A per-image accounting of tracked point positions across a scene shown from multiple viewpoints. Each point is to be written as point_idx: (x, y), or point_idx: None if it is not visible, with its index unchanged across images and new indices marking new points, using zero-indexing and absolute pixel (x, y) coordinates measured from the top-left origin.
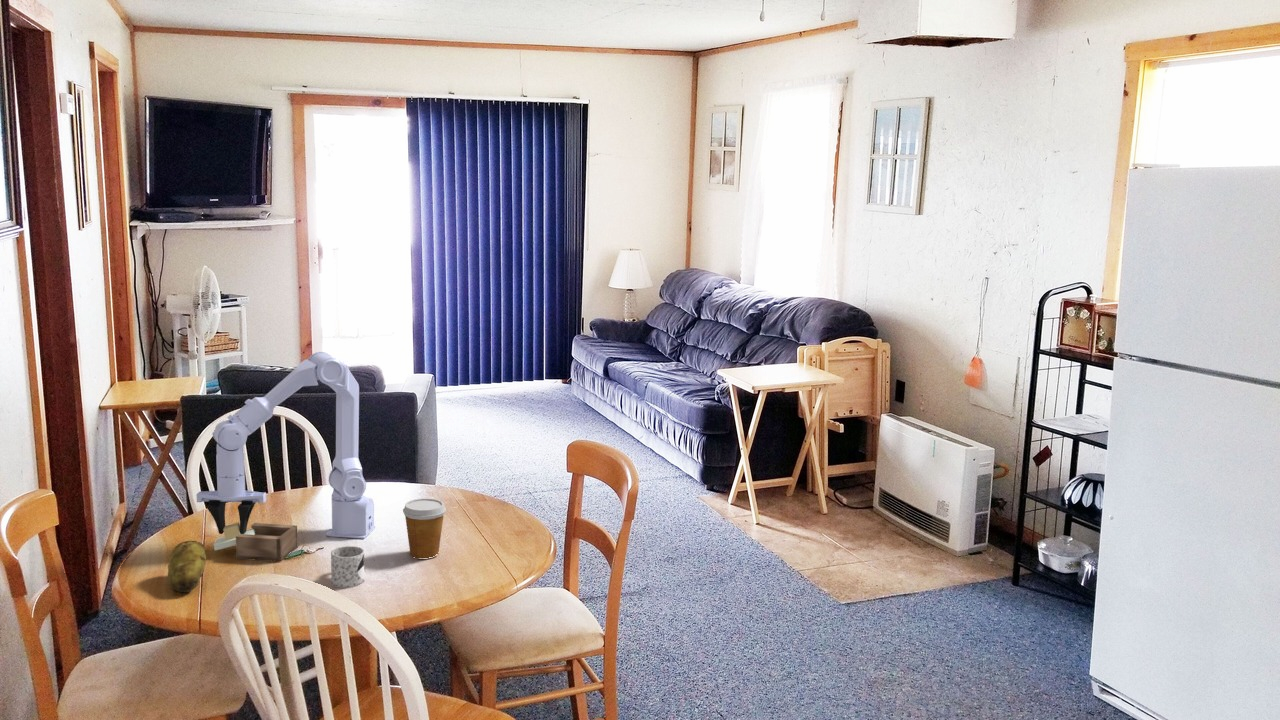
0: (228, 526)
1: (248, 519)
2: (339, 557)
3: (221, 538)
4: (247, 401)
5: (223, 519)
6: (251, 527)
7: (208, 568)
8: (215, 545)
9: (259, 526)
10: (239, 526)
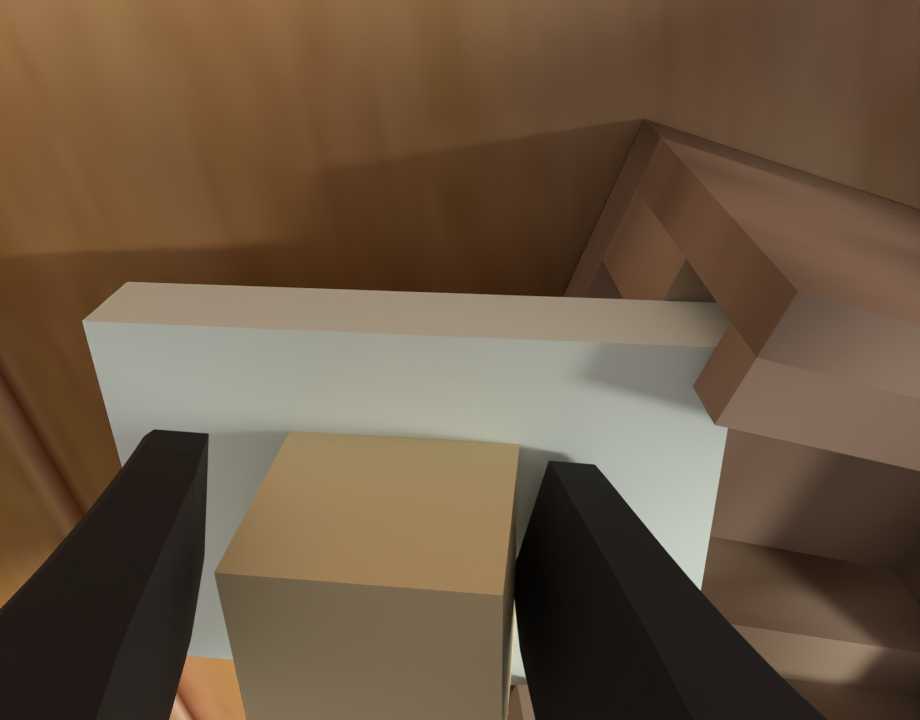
0: (315, 677)
1: (721, 630)
2: None
3: (183, 418)
4: None
5: (140, 661)
6: (702, 398)
7: (233, 697)
8: (199, 652)
9: (855, 452)
10: (508, 593)
